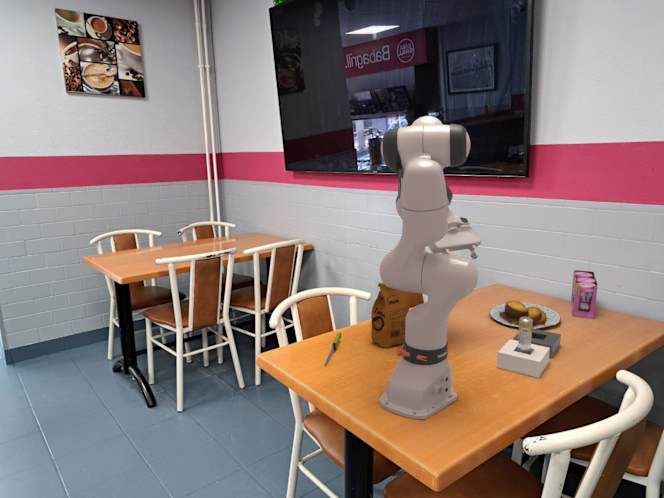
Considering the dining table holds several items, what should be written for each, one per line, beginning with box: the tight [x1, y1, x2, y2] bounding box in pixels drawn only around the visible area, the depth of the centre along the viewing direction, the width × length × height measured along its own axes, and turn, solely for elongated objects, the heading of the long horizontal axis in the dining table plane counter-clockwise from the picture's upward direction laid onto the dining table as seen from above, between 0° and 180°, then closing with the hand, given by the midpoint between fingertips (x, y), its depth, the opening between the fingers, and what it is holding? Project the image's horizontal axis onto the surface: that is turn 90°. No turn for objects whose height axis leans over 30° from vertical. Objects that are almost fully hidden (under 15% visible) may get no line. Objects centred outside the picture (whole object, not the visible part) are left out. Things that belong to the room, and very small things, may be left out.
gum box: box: [571, 269, 598, 319], centre depth 191 cm, size 24×8×14 cm, turn 155°
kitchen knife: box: [324, 332, 342, 367], centre depth 154 cm, size 22×1×3 cm, turn 167°
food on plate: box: [488, 300, 562, 332], centre depth 182 cm, size 25×25×7 cm
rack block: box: [496, 339, 550, 379], centre depth 143 cm, size 12×12×5 cm
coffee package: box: [370, 282, 410, 349], centre depth 162 cm, size 10×12×22 cm
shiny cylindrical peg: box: [518, 317, 533, 355], centre depth 142 cm, size 4×4×15 cm
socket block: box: [512, 328, 562, 359], centre depth 156 cm, size 12×12×4 cm
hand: (465, 259), depth 153 cm, fingers open, 8 cm apart
